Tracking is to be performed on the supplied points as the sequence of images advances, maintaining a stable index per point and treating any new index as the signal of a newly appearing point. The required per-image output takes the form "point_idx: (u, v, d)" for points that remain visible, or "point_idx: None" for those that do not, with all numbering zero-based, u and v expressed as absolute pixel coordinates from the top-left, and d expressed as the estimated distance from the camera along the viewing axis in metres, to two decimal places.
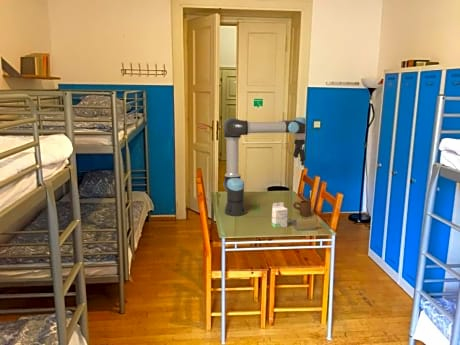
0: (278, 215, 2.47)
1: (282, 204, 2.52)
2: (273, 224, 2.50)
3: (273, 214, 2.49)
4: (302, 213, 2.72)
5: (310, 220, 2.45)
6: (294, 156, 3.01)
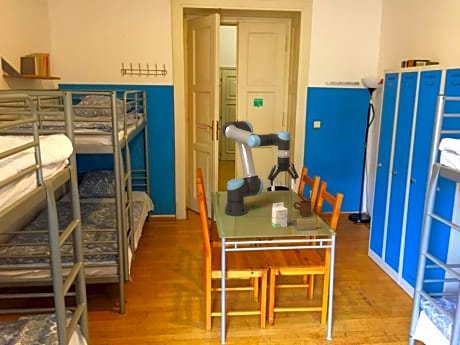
0: (278, 215, 2.47)
1: (282, 204, 2.52)
2: (273, 224, 2.50)
3: (273, 214, 2.49)
4: (302, 213, 2.72)
5: (310, 220, 2.45)
6: None
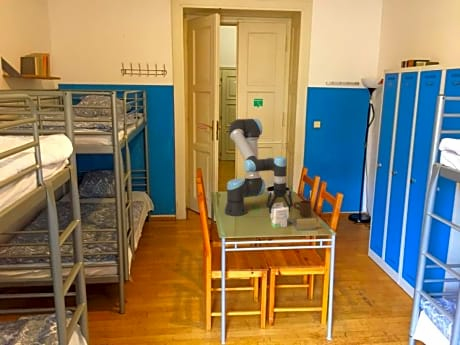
0: (278, 215, 2.47)
1: (282, 204, 2.52)
2: (273, 224, 2.50)
3: (273, 214, 2.49)
4: (302, 213, 2.72)
5: (310, 220, 2.45)
6: None
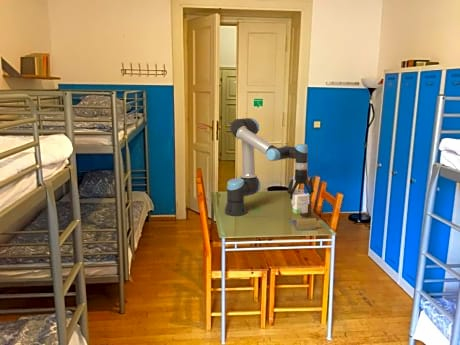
0: (299, 201, 2.53)
1: (302, 190, 2.58)
2: (294, 210, 2.55)
3: (294, 200, 2.54)
4: (302, 213, 2.72)
5: (310, 220, 2.45)
6: None
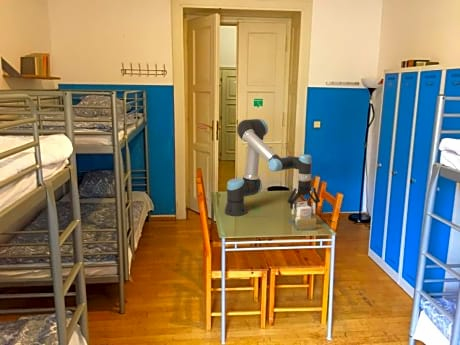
0: (302, 213, 2.47)
1: (306, 203, 2.53)
2: None
3: (297, 213, 2.49)
4: None
5: (310, 220, 2.45)
6: None
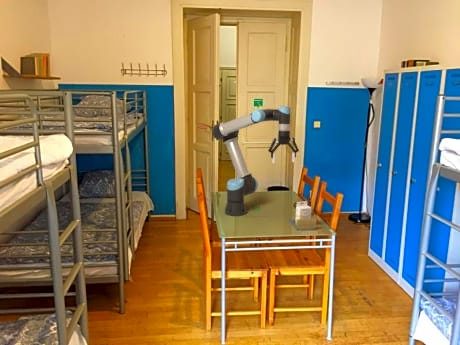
0: (302, 213, 2.47)
1: (306, 203, 2.53)
2: None
3: (297, 213, 2.49)
4: None
5: (310, 220, 2.45)
6: None
